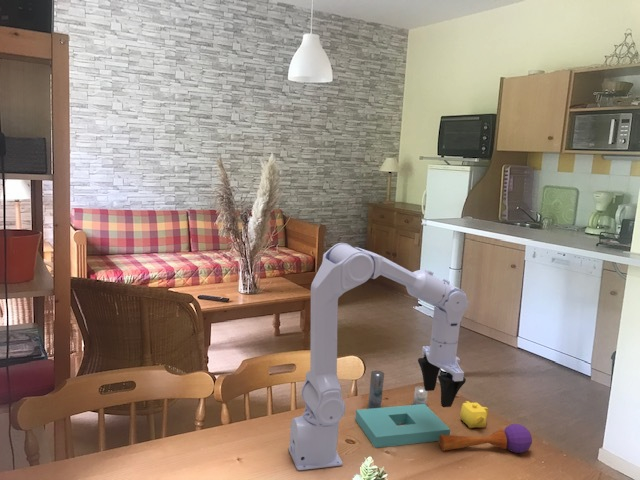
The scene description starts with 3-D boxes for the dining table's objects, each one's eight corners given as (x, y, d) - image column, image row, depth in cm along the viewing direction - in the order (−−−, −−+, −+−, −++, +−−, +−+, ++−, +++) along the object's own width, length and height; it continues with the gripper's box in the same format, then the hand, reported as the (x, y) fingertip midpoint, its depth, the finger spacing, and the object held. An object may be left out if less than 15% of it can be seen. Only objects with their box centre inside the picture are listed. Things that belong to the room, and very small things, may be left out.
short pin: (416, 409, 131) (418, 392, 131) (411, 403, 134) (412, 386, 134) (428, 408, 132) (430, 391, 132) (422, 402, 135) (424, 385, 135)
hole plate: (375, 447, 113) (376, 437, 112) (355, 419, 124) (356, 409, 124) (449, 439, 118) (450, 429, 118) (423, 413, 129) (424, 403, 129)
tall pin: (371, 410, 129) (374, 376, 127) (366, 404, 132) (369, 370, 130) (383, 409, 130) (386, 375, 128) (377, 403, 133) (381, 370, 131)
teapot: (494, 433, 123) (497, 412, 122) (472, 434, 121) (475, 413, 120) (477, 415, 130) (480, 396, 129) (456, 416, 129) (458, 397, 128)
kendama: (436, 424, 117) (523, 419, 119) (437, 451, 117) (524, 445, 119) (445, 433, 111) (536, 428, 113) (446, 462, 111) (537, 456, 113)
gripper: (479, 351, 108) (471, 412, 110) (443, 327, 122) (437, 382, 124) (449, 352, 106) (441, 415, 108) (416, 328, 120) (410, 384, 122)
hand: (437, 398), depth 116 cm, fingers open, 7 cm apart
